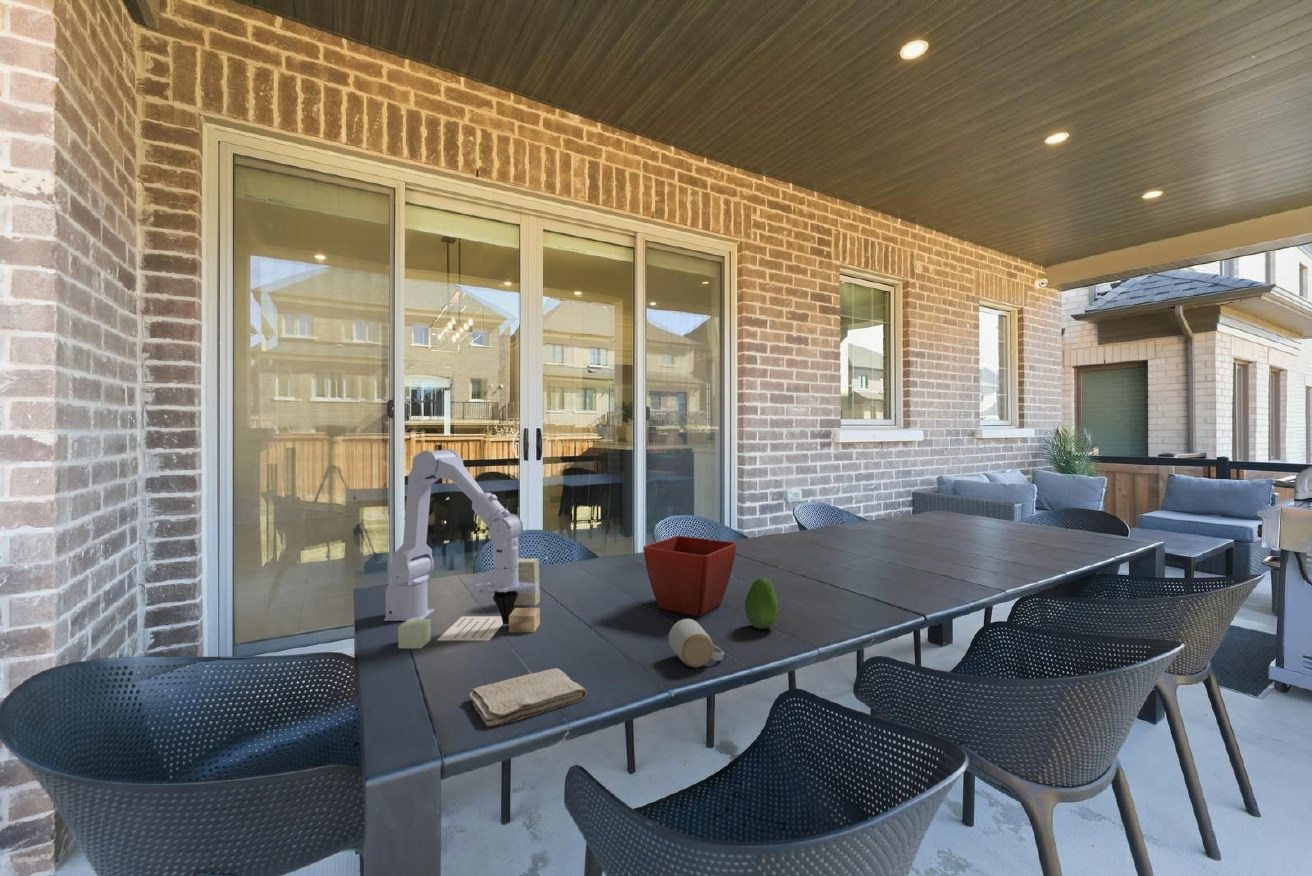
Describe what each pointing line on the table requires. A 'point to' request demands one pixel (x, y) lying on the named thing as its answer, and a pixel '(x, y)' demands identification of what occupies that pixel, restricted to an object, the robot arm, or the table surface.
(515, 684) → the washcloth
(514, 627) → the oak block
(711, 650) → the ceramic mug
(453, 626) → the letter
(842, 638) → the table surface
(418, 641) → the sage cube
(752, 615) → the fruit
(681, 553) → the plant pot
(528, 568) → the skincare box
